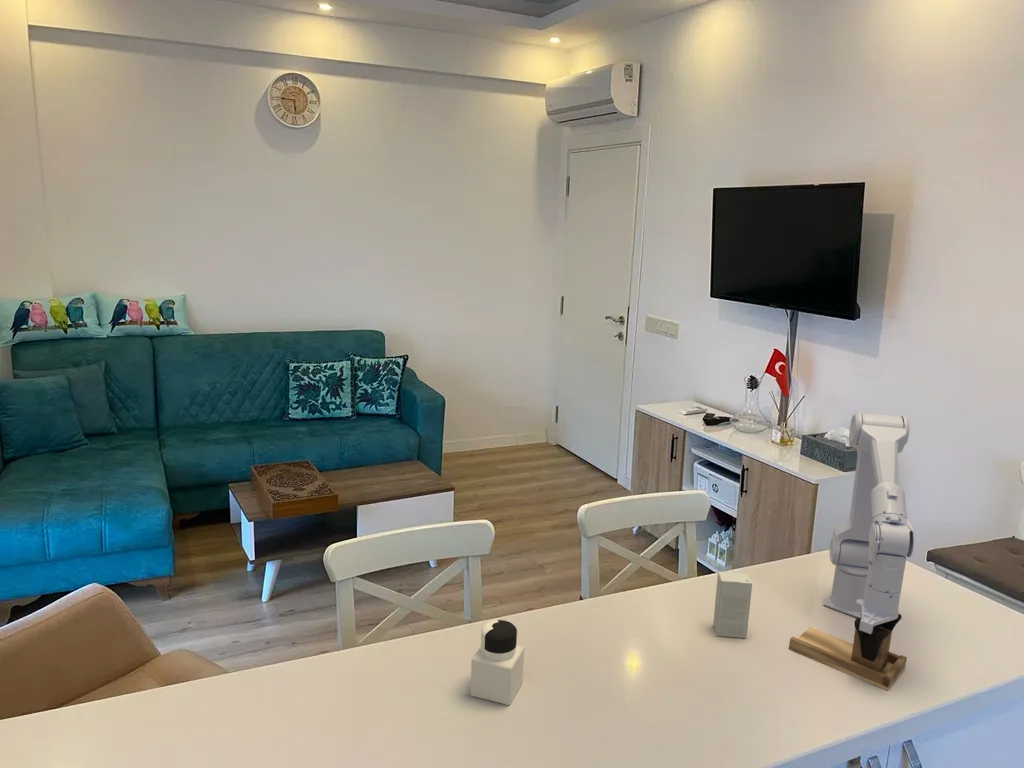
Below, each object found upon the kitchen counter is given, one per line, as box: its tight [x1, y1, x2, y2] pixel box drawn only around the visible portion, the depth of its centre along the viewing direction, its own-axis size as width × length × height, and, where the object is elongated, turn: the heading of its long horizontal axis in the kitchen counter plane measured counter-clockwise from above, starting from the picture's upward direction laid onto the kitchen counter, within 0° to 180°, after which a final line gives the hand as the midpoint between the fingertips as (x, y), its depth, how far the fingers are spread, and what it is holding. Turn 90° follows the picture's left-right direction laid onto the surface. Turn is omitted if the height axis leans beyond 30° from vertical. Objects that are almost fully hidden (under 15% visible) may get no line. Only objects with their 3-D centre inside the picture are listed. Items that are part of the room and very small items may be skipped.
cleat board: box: [788, 626, 908, 691], centre depth 141 cm, size 10×18×2 cm, turn 47°
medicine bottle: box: [470, 619, 525, 706], centre depth 127 cm, size 7×7×12 cm
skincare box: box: [712, 571, 753, 639], centre depth 148 cm, size 6×4×12 cm
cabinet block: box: [851, 627, 893, 673], centre depth 138 cm, size 4×5×8 cm
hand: (872, 653), depth 138 cm, fingers closed on cabinet block, 4 cm apart
